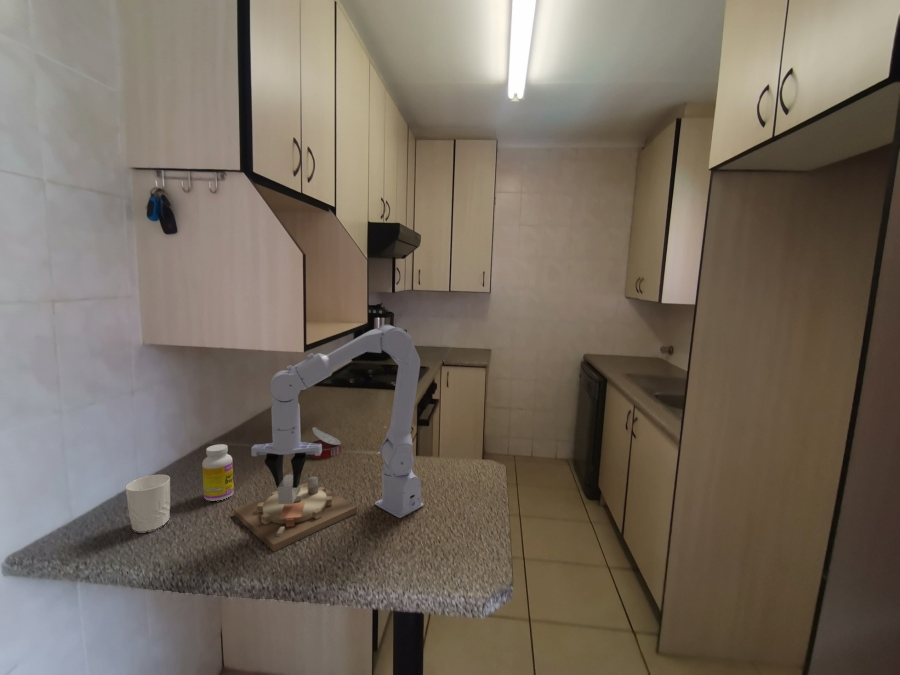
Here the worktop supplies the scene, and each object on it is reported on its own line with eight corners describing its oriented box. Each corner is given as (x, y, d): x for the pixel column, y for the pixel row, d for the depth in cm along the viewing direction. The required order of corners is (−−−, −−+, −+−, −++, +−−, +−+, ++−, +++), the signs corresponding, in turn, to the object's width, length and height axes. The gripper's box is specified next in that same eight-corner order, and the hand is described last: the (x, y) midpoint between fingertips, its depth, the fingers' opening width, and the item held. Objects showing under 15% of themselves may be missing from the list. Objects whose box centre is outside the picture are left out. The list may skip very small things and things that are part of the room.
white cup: (179, 514, 96) (176, 473, 95) (161, 533, 88) (158, 489, 87) (141, 517, 95) (138, 475, 94) (120, 537, 87) (116, 492, 86)
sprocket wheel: (329, 522, 90) (329, 500, 90) (248, 530, 87) (247, 508, 86) (334, 487, 106) (333, 469, 106) (265, 493, 103) (265, 474, 102)
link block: (287, 490, 95) (286, 474, 94) (300, 490, 95) (299, 474, 94) (278, 504, 89) (277, 486, 89) (292, 503, 90) (291, 486, 89)
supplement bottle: (228, 502, 102) (226, 451, 100) (199, 504, 101) (196, 453, 99) (237, 489, 108) (235, 442, 107) (210, 491, 107) (207, 443, 106)
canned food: (320, 461, 138) (326, 431, 142) (345, 462, 135) (350, 432, 138) (297, 456, 129) (304, 424, 133) (323, 458, 125) (329, 425, 129)
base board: (356, 512, 98) (356, 504, 97) (273, 551, 83) (273, 541, 82) (312, 485, 111) (312, 478, 111) (234, 515, 96) (233, 506, 96)
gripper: (324, 420, 94) (325, 477, 96) (259, 420, 93) (261, 478, 95) (316, 430, 87) (317, 491, 89) (246, 431, 86) (248, 493, 88)
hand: (288, 485), depth 91 cm, fingers closed on link block, 3 cm apart
